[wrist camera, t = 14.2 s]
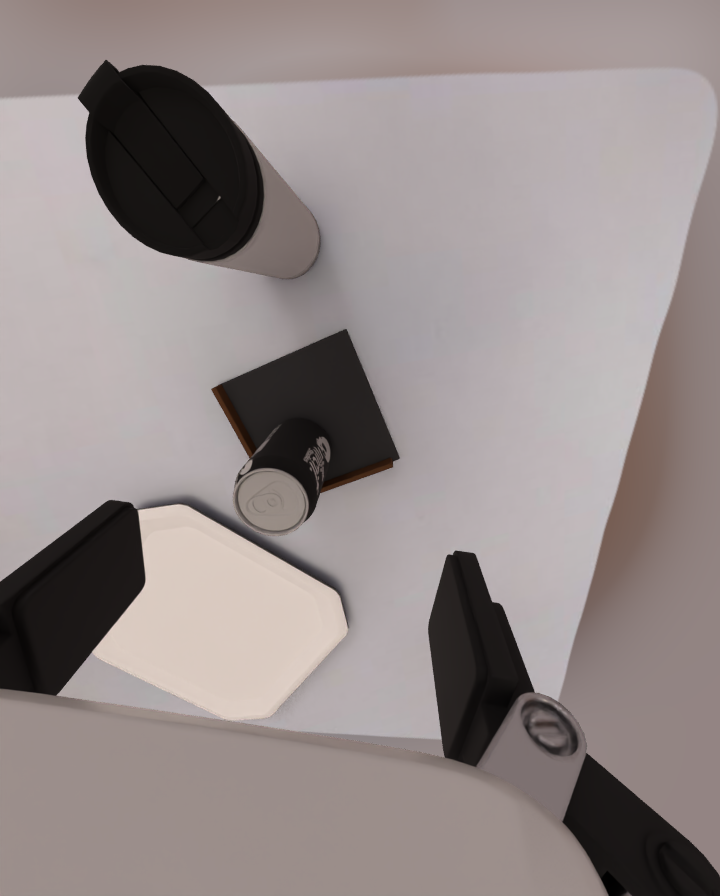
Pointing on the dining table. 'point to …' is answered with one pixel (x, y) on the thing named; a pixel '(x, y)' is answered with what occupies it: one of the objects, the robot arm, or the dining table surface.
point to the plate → (221, 618)
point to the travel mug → (191, 175)
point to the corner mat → (314, 407)
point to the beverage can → (283, 478)
